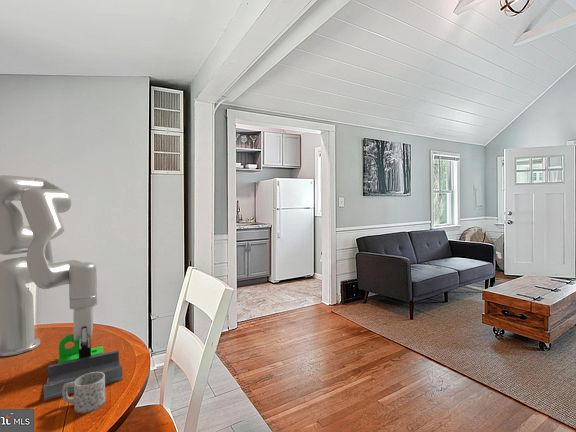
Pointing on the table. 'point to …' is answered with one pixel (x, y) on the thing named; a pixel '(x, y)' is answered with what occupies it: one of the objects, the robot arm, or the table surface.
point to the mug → (86, 392)
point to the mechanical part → (73, 349)
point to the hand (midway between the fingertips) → (85, 355)
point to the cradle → (81, 372)
